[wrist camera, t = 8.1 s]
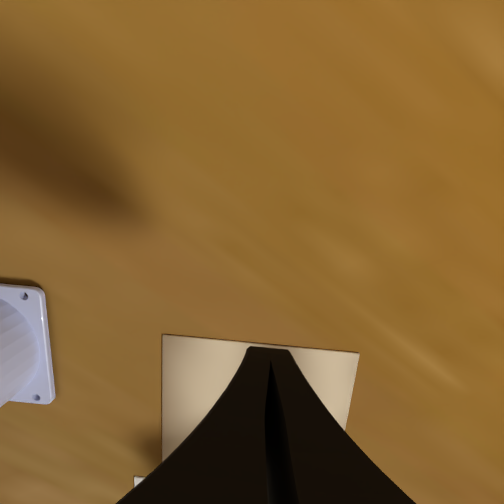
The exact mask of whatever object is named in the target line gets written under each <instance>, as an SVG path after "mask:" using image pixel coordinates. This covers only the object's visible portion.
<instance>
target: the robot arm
mask: <svg viewBox="0 0 504 504" xmlns="http://www.w3.org/2000/svg"><path fill="white" fill-rule="evenodd" d="M25 293H26V294H27V295H28V297H27V296H26V295H25ZM54 398H55V387H54V377H53V368H52V358H51V349H50V339H49V330H48V320H47V311H46V301H45V294H44V292H43V290H42V289H40V288H38V287H33V286H22V285H11V284H0V407H1V406H2V405H4V404H5V403H6V402H7V401H17V402H27V403H37V404H49V403H51V402H52V401H53V400H54ZM116 504H416V503H415V502H414V501H413V500H412V499H410V498H409V497H408V496H407V495H406V494H405V493H404V492H403V491H402V490H401V489H400V488H399V487H398V486H397V485H396V484H395V483H394V482H393V481H392V480H391V479H390V478H388V477H387V476H386V475H385V474H384V473H383V472H382V471H381V470H380V469H379V468H378V467H377V466H376V465H375V464H374V463H373V462H372V461H371V460H370V459H369V458H368V456H367V455H366V454H365V453H364V452H363V451H362V450H361V449H360V448H359V447H358V446H357V444H356V443H355V442H354V441H353V440H352V439H351V438H350V437H349V436H348V434H347V433H346V432H345V431H344V430H343V428H342V427H341V426H340V425H339V423H338V422H337V421H336V420H335V418H334V417H333V416H332V415H331V413H330V412H329V411H328V409H327V408H326V407H325V405H324V404H323V403H322V401H321V400H320V398H319V397H318V396H317V394H316V393H315V391H314V390H313V388H312V387H311V385H310V384H309V382H308V381H307V379H306V378H305V376H304V375H303V373H302V371H301V370H300V368H299V366H298V365H297V363H296V361H295V360H294V358H293V356H292V354H291V353H290V351H289V350H288V349H277V348H267V347H257V346H250V347H248V348H247V349H246V353H245V355H244V358H243V360H242V362H241V364H240V366H239V368H238V370H237V371H236V373H235V375H234V376H233V378H232V380H231V381H230V383H229V384H228V386H227V388H226V389H225V390H224V392H223V393H222V395H221V396H220V397H219V399H218V400H217V401H216V403H215V404H214V406H213V407H212V408H211V410H210V411H209V412H208V413H207V415H206V416H205V417H204V418H203V419H202V421H201V422H200V423H199V424H198V425H197V426H196V428H195V429H194V430H193V431H192V432H191V433H190V434H189V435H188V437H187V438H186V439H185V440H184V441H183V442H182V443H181V444H180V445H179V446H178V447H177V448H176V449H175V450H174V451H173V452H172V453H171V454H170V455H169V456H168V457H167V458H166V459H165V460H164V461H163V462H162V463H161V464H160V465H159V466H158V467H157V468H156V469H155V470H154V471H152V472H151V473H150V474H149V475H148V476H147V477H146V478H144V479H143V480H142V481H141V482H140V483H139V484H138V485H136V486H135V487H134V488H133V489H132V490H131V491H130V492H128V493H127V494H126V495H125V496H124V497H123V498H122V499H120V500H119V501H118V502H117V503H116Z"/></svg>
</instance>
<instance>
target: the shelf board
mask: <svg viewBox="0 0 504 504" xmlns="http://www.w3.org/2000/svg"><path fill="white" fill-rule="evenodd" d="M250 346H257V347H267V348H277V349H288V350H289V351H290V353H291V354H292V356H293V358H294V360H295V361H296V363H297V365H298V366H299V368H300V370H301V371H302V373H303V375H304V376H305V378H306V379H307V381H308V382H309V384H310V385H311V387H312V388H313V390H314V391H315V393H316V394H317V396H318V397H319V398H320V400H321V401H322V403H323V404H324V405H325V407H326V408H327V409H328V411H329V412H330V413H331V415H332V416H333V417H334V418H335V420H336V421H337V422H338V423H339V425H340V426H341V427H342V428H343V430H344V431H345V427H346V422H347V417H348V412H349V407H350V401H351V396H352V391H353V386H354V381H355V376H356V370H357V365H358V360H359V355H360V353H356V352H345V351H335V350H324V349H314V348H303V347H293V346H282V345H272V344H261V343H251V342H240V341H230V340H219V339H209V338H198V337H188V336H177V335H167V334H163V348H162V462H163V461H164V460H165V459H166V458H167V457H168V456H169V455H170V454H171V453H172V452H173V451H174V450H175V449H176V448H177V447H178V446H179V445H180V444H181V443H182V442H183V441H184V440H185V439H186V438H187V437H188V435H189V434H190V433H191V432H192V431H193V430H194V429H195V428H196V426H197V425H198V424H199V423H200V422H201V421H202V419H203V418H204V417H205V416H206V415H207V413H208V412H209V411H210V410H211V408H212V407H213V406H214V404H215V403H216V401H217V400H218V399H219V397H220V396H221V395H222V393H223V392H224V390H225V389H226V388H227V386H228V384H229V383H230V381H231V380H232V378H233V376H234V375H235V373H236V371H237V370H238V368H239V366H240V364H241V362H242V360H243V358H244V355H245V353H246V349H247V348H248V347H250Z"/></svg>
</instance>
